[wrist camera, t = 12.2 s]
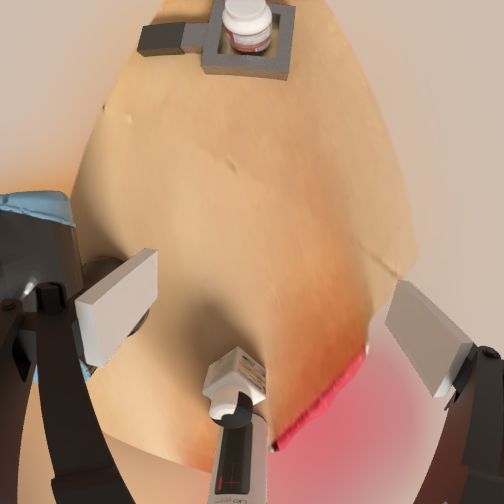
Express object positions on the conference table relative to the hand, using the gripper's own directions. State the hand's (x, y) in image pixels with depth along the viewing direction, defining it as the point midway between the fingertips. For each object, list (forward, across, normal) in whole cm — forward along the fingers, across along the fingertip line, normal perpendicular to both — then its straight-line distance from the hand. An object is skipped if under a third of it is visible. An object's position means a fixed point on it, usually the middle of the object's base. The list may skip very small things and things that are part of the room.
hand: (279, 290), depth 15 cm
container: (+29, -2, -29) cm, 41 cm away
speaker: (+29, +1, -46) cm, 54 cm away
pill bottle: (+28, -6, +26) cm, 38 cm away
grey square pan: (+29, -11, +26) cm, 40 cm away
